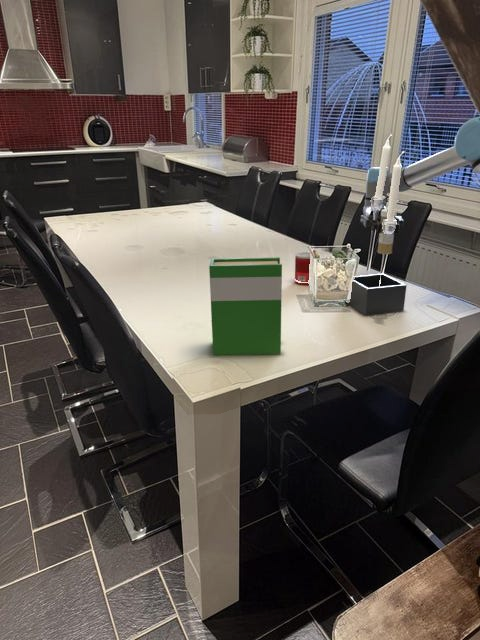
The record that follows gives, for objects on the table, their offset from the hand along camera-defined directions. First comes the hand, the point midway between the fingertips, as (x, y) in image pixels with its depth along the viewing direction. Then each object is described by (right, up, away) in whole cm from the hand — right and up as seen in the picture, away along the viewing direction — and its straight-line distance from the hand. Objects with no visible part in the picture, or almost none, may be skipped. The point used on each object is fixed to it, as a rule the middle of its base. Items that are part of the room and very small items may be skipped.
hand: (388, 228), depth 142 cm
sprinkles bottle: (0, -7, +5) cm, 8 cm away
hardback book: (-43, -36, -17) cm, 59 cm away
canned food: (-20, -14, +38) cm, 45 cm away
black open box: (-1, -23, +12) cm, 26 cm away
